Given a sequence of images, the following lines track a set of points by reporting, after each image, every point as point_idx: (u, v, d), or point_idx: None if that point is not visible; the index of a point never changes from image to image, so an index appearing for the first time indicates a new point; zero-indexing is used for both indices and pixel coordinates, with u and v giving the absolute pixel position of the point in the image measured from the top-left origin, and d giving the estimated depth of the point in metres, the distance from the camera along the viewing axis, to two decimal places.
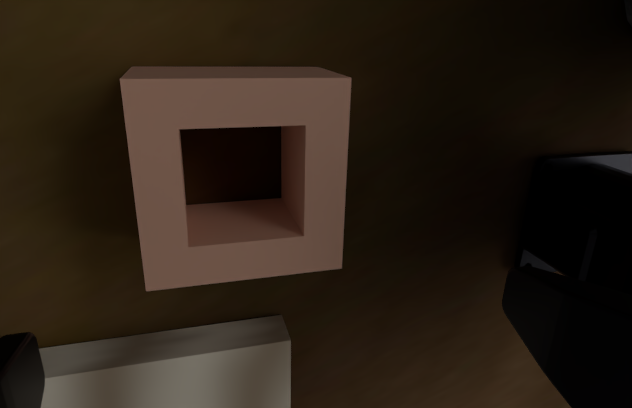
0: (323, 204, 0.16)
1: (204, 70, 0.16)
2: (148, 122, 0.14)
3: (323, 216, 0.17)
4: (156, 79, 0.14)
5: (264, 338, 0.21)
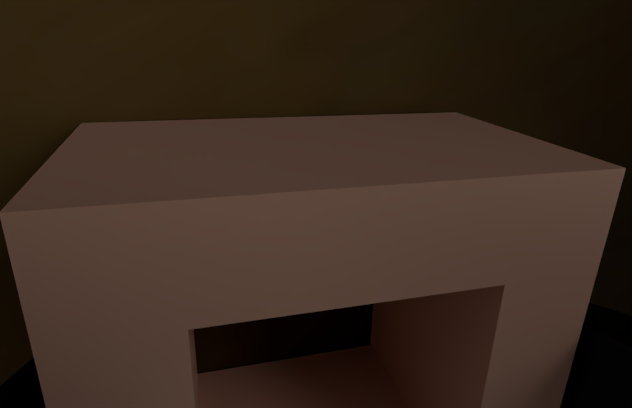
0: None
1: (244, 137, 0.07)
2: (99, 322, 0.05)
3: None
4: (120, 205, 0.04)
5: None
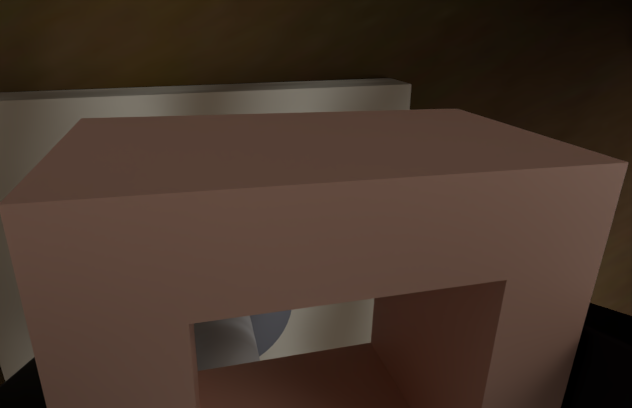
0: None
1: (245, 132, 0.07)
2: (99, 316, 0.05)
3: None
4: (120, 198, 0.04)
5: (379, 83, 0.18)
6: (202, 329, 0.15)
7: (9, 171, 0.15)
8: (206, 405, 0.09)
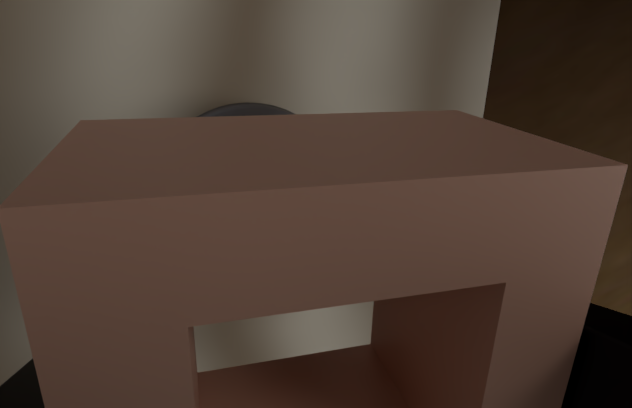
0: None
1: (244, 135, 0.07)
2: (98, 320, 0.05)
3: None
4: (119, 201, 0.04)
5: None
6: None
7: None
8: (206, 407, 0.09)
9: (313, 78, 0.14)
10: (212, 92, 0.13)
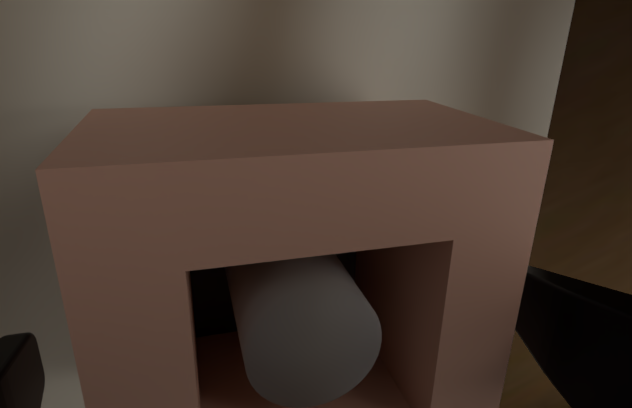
0: (467, 378, 0.08)
1: (233, 119, 0.08)
2: (113, 263, 0.06)
3: (465, 398, 0.09)
4: (130, 165, 0.05)
5: None
6: (275, 273, 0.08)
7: None
8: (203, 365, 0.10)
9: (348, 91, 0.11)
10: None
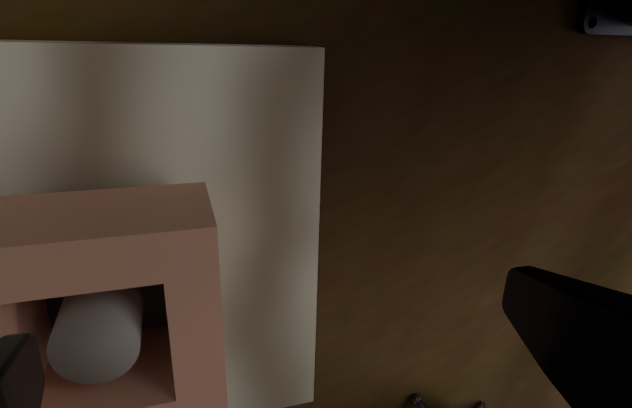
0: (196, 365, 0.14)
1: (48, 209, 0.13)
2: None
3: (198, 377, 0.14)
4: None
5: (291, 46, 0.17)
6: (74, 302, 0.13)
7: None
8: None
9: (158, 174, 0.16)
10: (67, 190, 0.16)
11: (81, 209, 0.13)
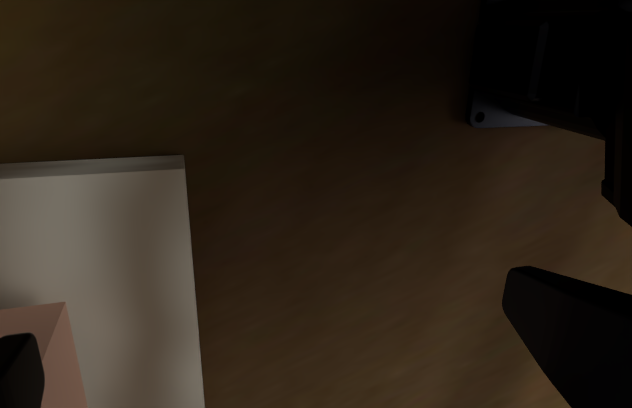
0: None
1: None
2: None
3: None
4: None
5: (153, 167, 0.17)
6: None
7: None
8: None
9: (25, 290, 0.17)
10: None
11: None
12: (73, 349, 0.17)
